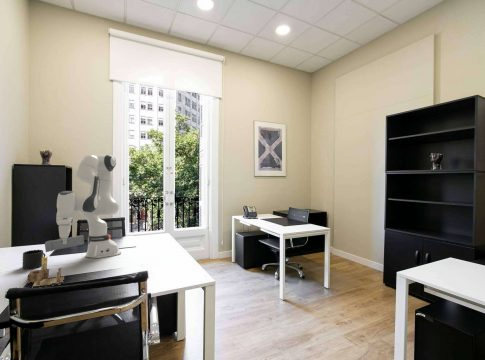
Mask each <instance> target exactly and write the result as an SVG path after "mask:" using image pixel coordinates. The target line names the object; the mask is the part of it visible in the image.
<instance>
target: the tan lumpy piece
mask: <svg viewBox="0 0 485 360" xmlns="http://www.w3.org/2000/svg"><path fill="white" fill-rule="evenodd" d="M40 270H41V269H35V270H34V269H33V270H30V271H29V272H28V274H27V281H26V282H27V284H31V283H30V282H32V283H35V281H36V280H37V274H39V271H40ZM49 278H50V268H47V269H42V279H49Z"/></svg>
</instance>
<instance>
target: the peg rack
mask: <svg viewBox="0 0 485 360" xmlns="http://www.w3.org/2000/svg"><path fill="white" fill-rule="evenodd" d="M39 270H40V271H39V274H37V280H36V281H35V282H33V284H32V287H33V286H40V285H50V284H52V283H59V282H63V283H64V281H65V276H62V267H59V268H58V269H57V271H56V277H51V278H50V277H48V279H42V270H41V269H39ZM63 280H64V281H63Z"/></svg>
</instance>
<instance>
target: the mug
mask: <svg viewBox="0 0 485 360" xmlns="http://www.w3.org/2000/svg"><path fill="white" fill-rule="evenodd" d="M45 253H46V252H45ZM45 253H44V250H43V249H32V250H27V251H24V252H23V253H22V269H23V270H34V269H35V270H36V269H38V268H40V267H41V265H42V257H46V254H45Z"/></svg>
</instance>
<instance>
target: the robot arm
mask: <svg viewBox="0 0 485 360" xmlns="http://www.w3.org/2000/svg"><path fill="white" fill-rule="evenodd" d="M116 165H117V161H116V158H115V157H114V155H112V154H98V155H93V154H88V155H85V156H84V157H83V158H82V160H81V162H80V163H79V164H78V167H77V170H76V177H77V178H78V179H79V180H80V181H81V182H83V183H85V184H88V185H89V186H90V187H89V188H90V189H89V194H88V195H76V194H75V191H72V190H64V191H60V192H59V193H58V195H57V199H56V208H57V212H56V217H55V218H56V224H57V226H58V234H59V239H63V244H67V238H69V236H70V234H71V233H70V232H71V227H72V226H73V223H75V221H76V212H78V213H79V214H80V215H82V216H83V217H84V218H85V220H86V221H87V224H88V236H87V244H88V245H87V251H86V254H85V257H87V258H93V259H102V258H107V257H113V256H119V255H121V254H122V249H120V248H119V246H118V244H117V242H115V241H114V240H112V239H111V238H112V236H111V234H108V223H107V222H106V220H103V219H101V218H100V216H113V215H116V214H117V213H118V212H119V210H120V209H119V208H120V205H119V203H118V202H117V201H116V200H115V199H114V198H113V196H112V183H113V170H114V168H115V167H116ZM99 197H100V199H99Z"/></svg>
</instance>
